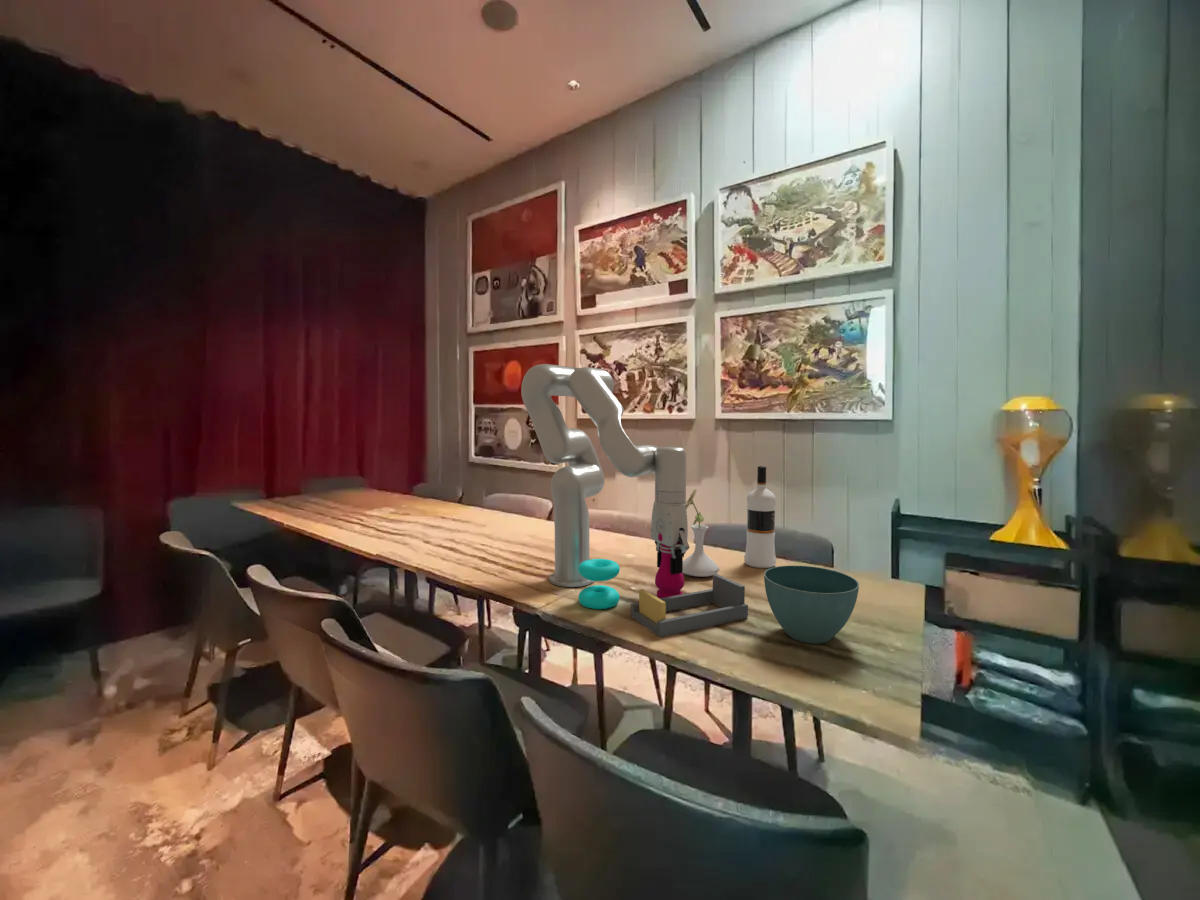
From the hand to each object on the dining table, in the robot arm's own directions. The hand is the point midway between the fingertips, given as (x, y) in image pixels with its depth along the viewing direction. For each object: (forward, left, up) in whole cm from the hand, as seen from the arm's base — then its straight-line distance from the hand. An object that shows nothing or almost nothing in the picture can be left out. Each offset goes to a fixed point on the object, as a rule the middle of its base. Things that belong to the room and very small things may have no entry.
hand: (669, 569), depth 133 cm
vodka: (-13, +41, -8) cm, 44 cm away
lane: (+12, -3, -7) cm, 14 cm away
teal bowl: (+31, +14, -8) cm, 35 cm away
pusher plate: (+12, -12, -7) cm, 19 cm away
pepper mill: (0, 0, -8) cm, 8 cm away
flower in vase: (-13, +18, -8) cm, 23 cm away
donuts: (-5, -17, -8) cm, 19 cm away
